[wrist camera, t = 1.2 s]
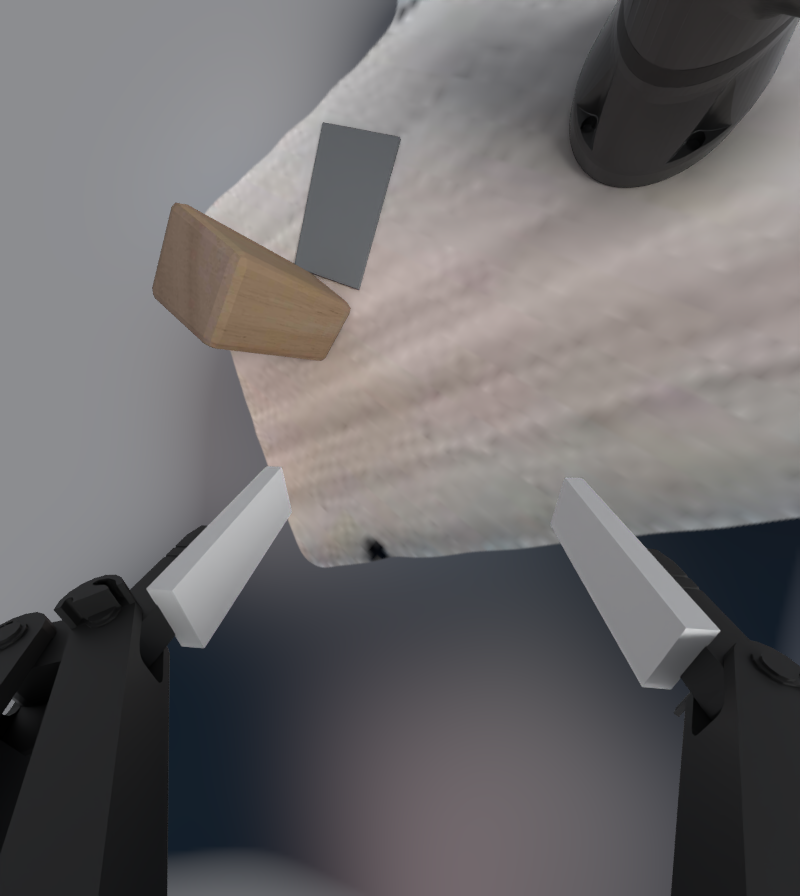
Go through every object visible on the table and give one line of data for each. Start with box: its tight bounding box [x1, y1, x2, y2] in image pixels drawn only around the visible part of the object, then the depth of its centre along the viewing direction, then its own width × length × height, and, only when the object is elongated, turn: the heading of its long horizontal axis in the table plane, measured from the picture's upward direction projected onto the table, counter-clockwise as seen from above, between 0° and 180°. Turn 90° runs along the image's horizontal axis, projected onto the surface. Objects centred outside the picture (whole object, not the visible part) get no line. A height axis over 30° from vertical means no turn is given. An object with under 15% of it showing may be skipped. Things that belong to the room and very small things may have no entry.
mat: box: [295, 122, 401, 290], centre depth 40 cm, size 18×12×1 cm, turn 159°
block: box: [152, 203, 350, 361], centre depth 36 cm, size 10×10×20 cm
